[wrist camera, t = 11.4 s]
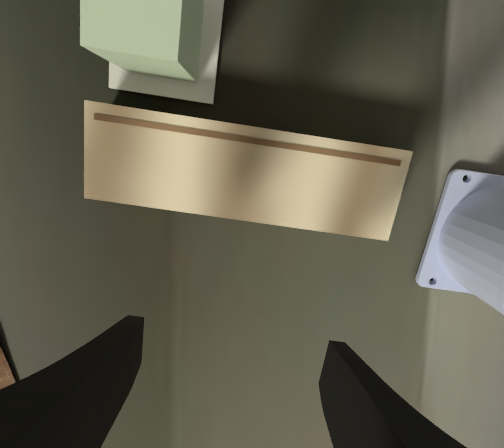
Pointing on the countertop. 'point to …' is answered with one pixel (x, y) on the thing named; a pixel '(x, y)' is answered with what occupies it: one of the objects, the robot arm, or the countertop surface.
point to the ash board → (241, 171)
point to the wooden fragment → (5, 372)
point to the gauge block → (145, 35)
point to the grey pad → (175, 87)
